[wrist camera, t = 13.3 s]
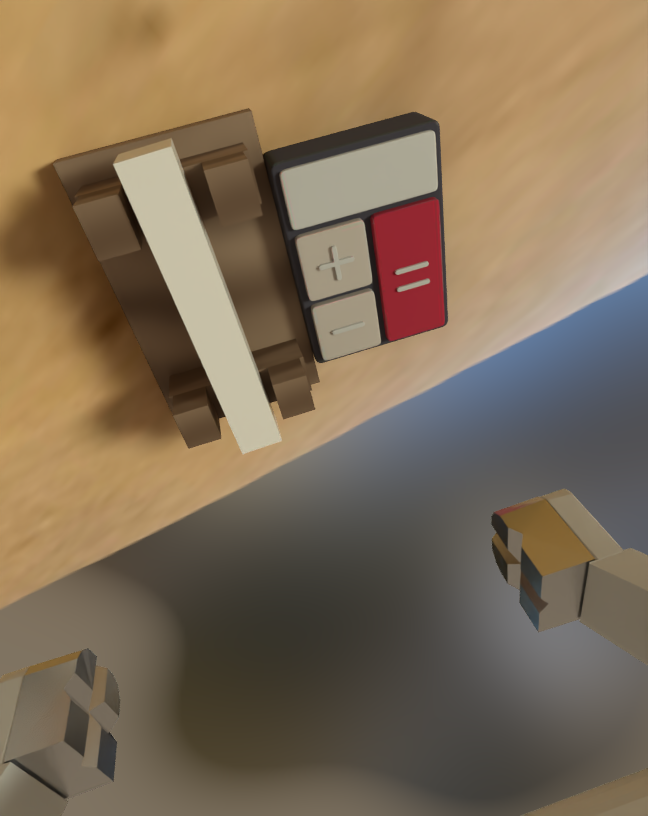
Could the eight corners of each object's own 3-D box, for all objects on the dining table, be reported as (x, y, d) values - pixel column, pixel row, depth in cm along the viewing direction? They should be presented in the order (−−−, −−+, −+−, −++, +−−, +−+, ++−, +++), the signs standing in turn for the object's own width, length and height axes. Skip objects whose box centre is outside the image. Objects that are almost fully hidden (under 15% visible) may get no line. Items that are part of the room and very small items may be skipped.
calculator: (319, 370, 40) (270, 167, 31) (307, 342, 44) (260, 152, 34) (453, 330, 41) (445, 120, 32) (431, 306, 44) (418, 109, 35)
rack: (57, 159, 32) (32, 183, 26) (248, 108, 33) (263, 120, 27) (178, 414, 44) (178, 469, 38) (315, 372, 44) (336, 420, 39)
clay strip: (118, 154, 28) (112, 164, 26) (171, 138, 29) (171, 146, 26) (238, 429, 40) (242, 454, 38) (275, 417, 40) (281, 440, 38)
